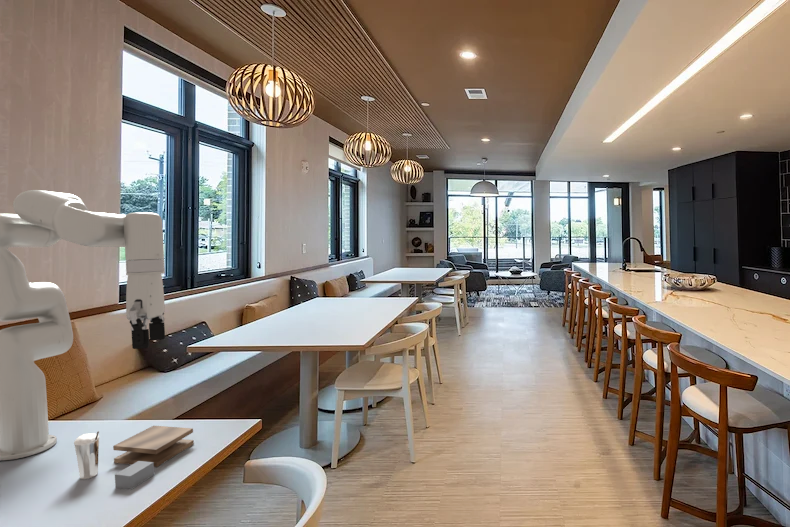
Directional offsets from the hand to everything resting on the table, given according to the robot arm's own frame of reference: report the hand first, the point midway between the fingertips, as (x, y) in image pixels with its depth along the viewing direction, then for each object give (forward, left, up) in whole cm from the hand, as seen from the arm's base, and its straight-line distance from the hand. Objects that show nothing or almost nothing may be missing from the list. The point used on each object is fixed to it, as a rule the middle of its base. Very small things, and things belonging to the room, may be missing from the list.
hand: (149, 343), depth 98 cm
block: (0, -6, -28) cm, 29 cm away
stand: (-6, +6, -28) cm, 29 cm away
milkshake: (-12, -6, -28) cm, 31 cm away
